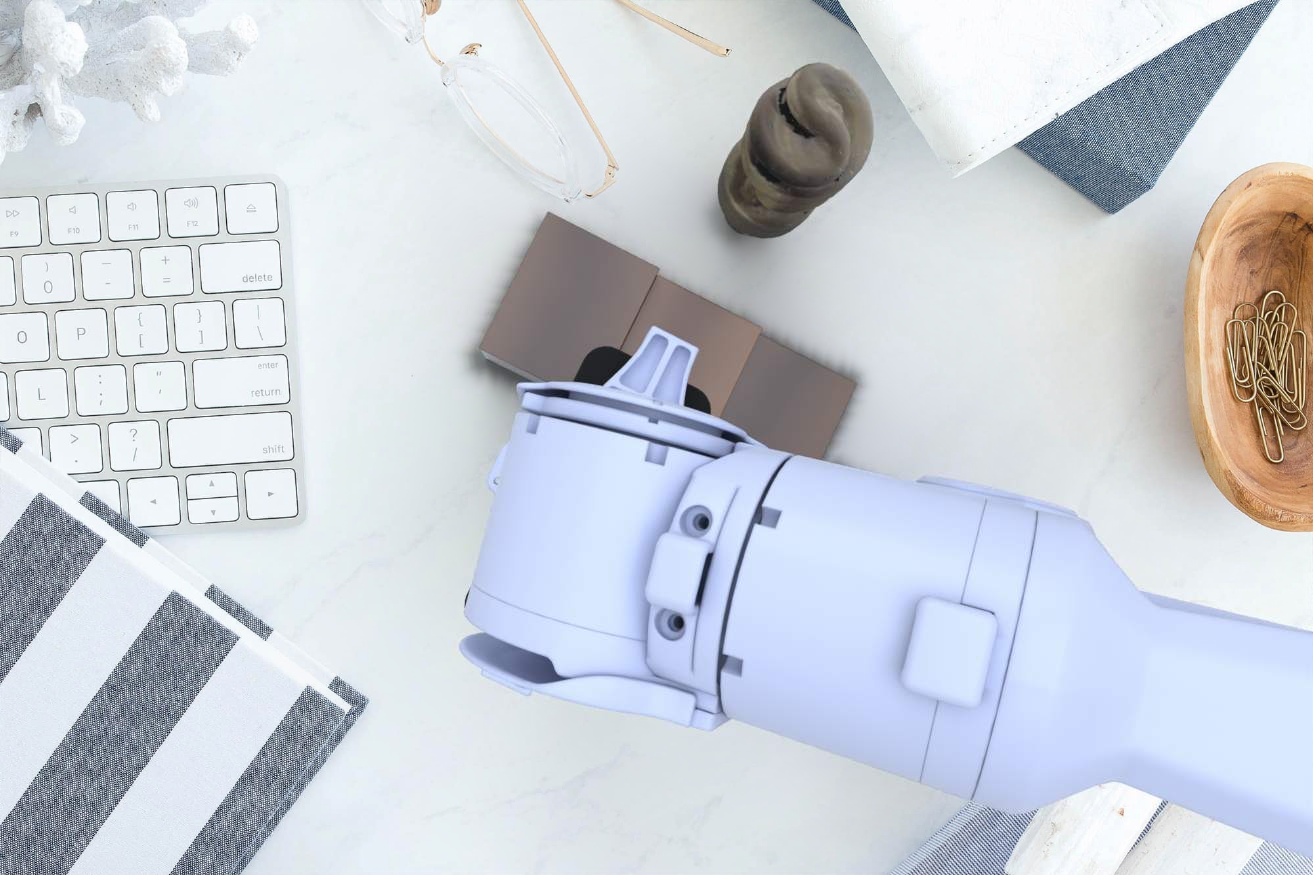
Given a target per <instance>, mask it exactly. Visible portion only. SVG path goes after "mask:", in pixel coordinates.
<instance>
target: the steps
mask: <svg viewBox="0 0 1313 875" xmlns="http://www.w3.org/2000/svg"><path fill="white" fill-rule="evenodd" d="M659 271H660V267H658V266H656V265H654V264H653V263H650V262H648V261H646V260H645V259H643V258H640V257H638V256H637V255H635V254H633V253H631V252H629V251H627V250H625V249H623V248H622V247H619V246H617V245H615V244H613V243H611V242H609V241H608V240H605V239H603V238H601V237H600V236H598V235H596V234H594V233H592V232H590V231H588V230H586V229H584V228H582V227H580V226H578V225H576V224H574V223H572V222H570V221H568V220H566V219H565V218H562V217H561V216H558V215H556V214H554V213H553V212H550V211H547V212H546V214H545V215H544V218H543V219H542V222H541V224H540V226H539V229H537V232H536V234H535V235H534V238H533V239H532V242H531V244H530V246H529V248H528V249H527V251H526V254H525V256H524V258H523V260H522V262H521V264H520V266H519V268H518V269H517V272H516V274H515V276H514V278H513V280H512V282H511V284H510V286H509V288H508V289H507V292H506V294H505V295H504V298H503V300H502V301H501V304H500V305H499V307H498V310H497V312H496V314H495V316H494V317H493V319H492V322H491V324H490V325H489V328H488V330H487V331H486V333H485V335H484V338H483V339H482V340H481V343H480V345H479V347H478V348H479V350H480V353H482V355H483V356H484V358H485V359H486V360H488V361H491V362H493V363H495V364H496V365H499V366H500V367H503V368H505V369H507V370H508V371H511V372H512V373H515V374H517V375H519V376H521V377H523V378H525V379H527V380H529V381H531V382H532V383H547V382H573V380H574V378H575V376H576V374H577V372H578V370H579V368H580V366H581V364H582V362H583V360H584V358H585V357H586V355H587V354H588V353H589V352H591V351H592V350H593V349H595V348H598V347H602V346H610V347H614V348H617V349H619V350H621V351H623V352H625V353H627V354H629V355H631V356H634V355H635V353H636V352H637V351H638V349H639V348H640V346H641V345H642V343H643V341H644V339H645V337H646V335H647V333H648V332H649V330H650V329H651V327H652V326H656V327H658V328H660V329H662V330H663V331H665V332H667V333H669V334H671V335H673V336H675V337H677V338H679V339H681V340H683V341H685V342H687V343H689V344H691V345H693V346H695V347H697V348H698V349H699V351H698V353H697V355H696V358H695V360H694V363H693V365H692V367H691V370H690V373H689V377H688V381H687V383H688V384H690V385H692V386H694V387H696V388H698V389H699V390H701V391H702V392H703V393H704V394H705V395H706V396H707V398H708V400H709V402H710V406H711V415H712V416H715V417H717V418H720V419H722V420H724V421H726V422H728V423H730V424H732V425H734V426H736V427H738V428H739V429H741V430H743V431H745V432H746V434H747V436H749V437H751V438H752V439H754V440H756V441H758V442H759V443H761V444H763V445H765V446H766V447H768V448H769V449H773V450H778V451H782V452H787V453H791V454H794V455H795V456H796V455H800V456H804V457H809V458H813V459H817V460H822V461H823V458H824V456H825V454H826V452H827V450H828V447H829V446H830V443H831V441H832V439H833V437H834V435H835V433H836V430H837V428H838V426H839V424H840V421H841V420H842V418H843V416H844V414H845V411H846V409H847V407H848V405H849V403H850V401H851V399H852V396H853V393H854V392H855V390H856V388H857V386H858V382H856V381H854V380H852V379H850V378H848V377H846V376H844V375H842V374H841V373H839V372H836V371H834V370H832V369H831V368H829V367H827V366H825V365H823V364H821V363H819V362H817V361H815V360H813V359H811V358H809V357H807V356H805V355H803V354H801V353H799V352H797V351H795V350H793V349H791V348H790V347H788V346H785V345H783V344H781V343H779V342H777V341H775V340H773V339H772V338H770V337H768V336H765V335H763V334H762V331H763V327H762V326H760V325H757V324H755V323H754V322H751V321H750V320H748V319H746V318H744V317H742V316H740V315H738V314H736V313H734V312H733V311H730V310H729V309H726V308H724V307H723V306H720V305H718V304H717V303H714V302H713V301H710V300H709V299H706V298H704V297H702V296H700V295H699V294H696V293H695V292H693V291H691V290H689V289H687V288H685V287H683V286H681V285H679V284H678V283H676V282H673V281H671V280H669V279H668V278H665V277H663V276H662V275H660V274H658V273H659Z"/></svg>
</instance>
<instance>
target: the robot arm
mask: <svg viewBox="0 0 1313 875" xmlns="http://www.w3.org/2000/svg"><path fill="white" fill-rule="evenodd" d="M698 351H699V349H698V348H697V347H695V346H693V345H691V344H689V343H687V342H685V341H683V340H681V339H679V338H677V337H675V336H673V335H671V334H669V333H667V332H665V331H663V330H662V329H660V328H658V327H656V326H652V327H651V329H650V330H649V332H648V333H647V335H646V337H645V339H644V341H643V343H642V345H641V346H640V348H639V349H638V351H637V352H636V353H635V355H634V356H631V355H629V354H627V353H625V352H623V351H621V350H619V349H617V348H614V347H610V346H602V347H598V348H595V349H593V350H592V351H591V352H589V353H588V354H587V355H586V357H585V358H584V360H583V362H582V364H581V366H580V368H579V370H578V372H577V374H576V376H575V378H574V380H573V382H547V383H535V382H518V383H517V384H516V394H517V397H518V401H519V403H520V407H521V409H522V410H523V411H525V412H523V411H516V412H515V416H514V419H513V423H512V427H511V430H510V435H509V439H508V442H506V443H505V444H504V445H503V446H502V447H501V449H500V451H499V452H498V454H497V457H496V459H495V460H494V462H493V465H492V467H491V468H490V471H489V473H488V475H487V478H486V484H487V487H488V489H489V490H490V491H491V493H493V494H494V496H493V500H492V504H491V507H490V511H489V516H488V519H487V523H486V526H485V531H484V533H483V538H482V541H481V545H480V550H479V553H478V557H477V561H476V565H475V568H474V572H473V577H472V580H471V584H470V587H469V589H468V591H467V593H466V596H465V597H464V610H463V615H464V617H465V619H466V620H467V621H468V622H469V623H470V624H471V625H472V626H474V627H475V628H476V629H478V630H480V631H482V632H476V633H472V634H469V635H466V636H465V637H463V638H462V639H461V640H460V641H459V643H458V650H459V651H460V653H461V655H462V656H463V657H464V658H465V659H466V660H467V661H469V662H470V663H471V664H473V665H474V666H475V667H476V668H479V669H481V673H480V674H481V676H483V677H485V678H486V679H488V680H491V681H493V682H495V683H497V684H499V685H502V686H504V687H506V688H508V689H510V690H513V691H515V692H517V693H519V694H521V695H523V696H526V697H530V696H531V695H532V693H533V692H535V693H538V694H541V695H544V696H547V697H550V698H554V699H558V700H562V701H566V702H569V703H573V704H578V705H580V706H581V705H582V706H586V707H591V708H596V709H600V710H606V711H612V712H615V713H616V712H618V713H621V714H622V713H624V714H631V715H638V716H644V717H649V718H654V719H658V720H662V721H665V722H668V723H672V724H675V725H678V726H681V727H685V728H688V729H689V728H694V729H698V730H701V731H705V732H713V731H714V730H717V729H718V728H720V727H721V726H723V725H725V724H726V723H728V722H729V721H731V720H734V721H736V722H739V723H742V724H746V725H748V726H751V727H754V728H757V729H760V730H763V731H766V732H768V733H772V734H774V735H778V736H781V737H784V738H786V739H790V740H792V741H796V742H798V743H801V744H804V745H807V746H809V747H811V748H812V747H813V748H815V749H817V750H818V749H819V750H821V751H825V752H828V753H830V754H833V755H836V756H838V757H842V758H844V759H848V760H851V761H853V762H856V763H859V764H863V765H865V766H869V767H871V768H874V769H876V770H880V771H883V772H885V773H889V774H892V775H894V776H898V777H900V778H904V779H907V780H909V781H912V782H915V783H918V784H920V785H923V786H926V787H929V788H931V789H934V790H937V791H940V792H943V793H946V794H949V795H951V796H955V797H957V798H959V799H964V800H967V801H970V802H973V803H974V804H978V805H981V806H982V807H986V808H988V809H989V808H990V809H992V810H996V811H999V812H1001V813H1004V814H1007V815H1013V816H1014V815H1016V816H1017V815H1023V814H1027V813H1031V812H1035V811H1037V810H1039V809H1043V808H1044V807H1047V806H1050V805H1052V804H1055V803H1057V802H1060V801H1062V800H1064V799H1068V798H1070V797H1072V796H1074V795H1077V794H1079V793H1082V792H1084V791H1087V790H1089V789H1091V788H1094V787H1097V786H1101V785H1106V784H1110V783H1119V784H1123V785H1126V786H1127V787H1130V788H1133V789H1135V790H1137V791H1141V792H1143V793H1146V794H1148V795H1150V796H1153V797H1155V798H1158V799H1160V800H1163V801H1166V802H1168V803H1170V804H1173V805H1176V806H1178V807H1180V808H1183V809H1185V810H1187V811H1190V812H1193V813H1195V814H1197V815H1200V816H1203V817H1206V818H1208V819H1211V820H1212V821H1215V822H1218V823H1221V824H1223V825H1225V826H1228V827H1231V828H1233V829H1235V830H1238V831H1241V832H1243V833H1246V834H1248V835H1250V836H1253V837H1256V838H1257V839H1260V840H1263V841H1266V842H1268V843H1269V844H1273V845H1275V846H1278V847H1281V848H1282V849H1285V850H1288V851H1290V852H1293V853H1295V854H1298V855H1300V856H1303V857H1306V858H1308V859H1311V860H1313V631H1311V630H1308V629H1303V628H1298V627H1295V626H1290V625H1286V624H1283V623H1278V622H1274V621H1269V620H1266V619H1261V618H1257V617H1253V616H1249V615H1244V614H1240V613H1236V612H1232V611H1228V610H1223V609H1219V608H1215V607H1212V606H1206V605H1202V604H1198V603H1194V602H1189V601H1187V600H1181V599H1177V598H1173V597H1169V596H1165V595H1161V594H1156V593H1152V592H1148V591H1145V590H1139V589H1138V587H1137V586H1136V585H1135V584H1134V582H1133V581H1132V580H1131V579H1130V577H1129V576H1128V575H1127V574H1126V573H1125V571H1124V570H1123V569H1122V568H1121V567H1120V565H1119V564H1118V563H1117V561H1116V560H1115V559H1114V558H1113V557H1112V556H1111V554H1110V553H1109V551H1108V550H1107V549H1106V547H1105V546H1104V545H1103V543H1102V542H1101V541H1100V540H1099V538H1098V537H1097V535H1096V533H1095V530H1094V528H1093V526H1092V524H1091V523H1090V521H1088V520H1086V519H1085V518H1082V517H1079V516H1078V514H1077V513H1076V511H1074V510H1072V509H1070V508H1067V507H1064V506H1061V505H1058V504H1055V503H1052V502H1049V501H1046V500H1042V499H1038V498H1036V497H1035V498H1034V497H1031V496H1027V495H1022V494H1019V493H1015V492H1011V491H1008V490H1004V489H1000V488H996V487H991V486H988V485H984V484H983V485H982V484H979V483H974V482H969V481H965V480H959V479H954V478H947V477H941V476H934V475H923V476H922V477H921V478H918V479H917V480H916V481H913V480H909V479H906V478H905V479H904V478H901V477H897V476H892V475H887V474H883V473H880V472H879V473H878V472H874V471H869V470H866V469H861V468H856V467H852V466H848V465H844V464H839V463H835V462H831V461H827V460H823V459H822V460H817V459H813V458H809V457H804V456H800V455H796V456H795V455H794V454H791V453H787V452H782V451H778V450H773V449H769V448H768V447H766V446H765V445H763V444H761V443H759V442H758V441H756V440H754V439H752V438H751V437H749V436H747V434H746V432H745V431H743V430H741V429H739V428H738V427H736V426H734V425H732V424H730V423H728V422H726V421H724V420H722V419H720V418H717V417H715V416H712V415H711V406H710V402H709V400H708V398H707V396H706V395H705V394H704V393H703V392H702V391H701V390H699V389H698V388H696V387H694V386H692V385H690V384H688V383H687V381H688V377H689V373H690V370H691V367H692V365H693V363H694V360H695V358H696V355H697V353H698ZM496 479H498V481H497V482H496Z"/></svg>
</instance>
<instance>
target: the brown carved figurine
mask: <svg viewBox="0 0 1313 875" xmlns="http://www.w3.org/2000/svg"><path fill="white" fill-rule="evenodd" d="M874 125H875V124H874V118H873V112H872V108H871V105H870V101H869V99H868V97H867V95H866V93H865V91H864V89H863V88H862V87H861V85H860V84H859V83H858V81H857V80H856V79H855V78H854V77H853V76H852V75H851V74H850V73H848V72H847V71H846V70H845V69H843V68H841V67H839V66H837V65H834V64H831V63H826V62H821V61H820V62H812V63H806V64H805V65H803V66H800V67H798V69H796V70H794V72H793V73H792V75H791V76H789V77H785V78H783V79H782V80H780V81H778V82H776V83H774V84H773V85H770V86H769V87H768V88H767V89H766V90H765V91H764V92H763V93H761V95H760V97H759V98H758V99H757V101H756V103H755V105H754V108H753V110H752V112H751V115H750V117H749V118H748V120H747V123H746V126H745V129H744V133H743V135H742V137H741V138H740V139H739V140H738V141H737V142H736V143H735V145H734V146H733V147H732V148H731V149H730V152H729V153H728V155H727V157H726V158H725V161H724V163H723V165H722V167H721V171H720V174H719V176H718V180H717V199H718V203H719V206H720V209H721V211H722V213H723V215H724V219H725V221H726V224H728V226H729V227H730V228H731V229H732V230H733V231H735V232H737V233H738V234H741V235H746V236H749V237H752V238H758V239H762V240H764V239H765V240H766V239H775V238H779V237H783V236H784V235H787V234H789V233H791V232H792V231H794V230H795V229H797V227H799V226H801V224H803V223H804V222H805V221H806V220H807V219H808V218H809V217H810V215H812V213H813V212H814V211H815V209H816V208H817V207H820V206H822V205H824V204H825V203H827V202H828V201H829V200H830V199H831V198H833V197H834V196H836V195H837V194H838V193H840V191H842V190H844V188H845V187H846V186H847V185H848V184H849V183H850V182H851V181H852V180H853V179H854V178H855V177H856V176H857V175H858V174H859V172H861V170H862V169H863V167H864V166H865V164H866V162H867V160H868V158H869V156H870V153H871V149H872V146H873V142H874V133H875V132H874V131H875V126H874Z"/></svg>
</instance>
